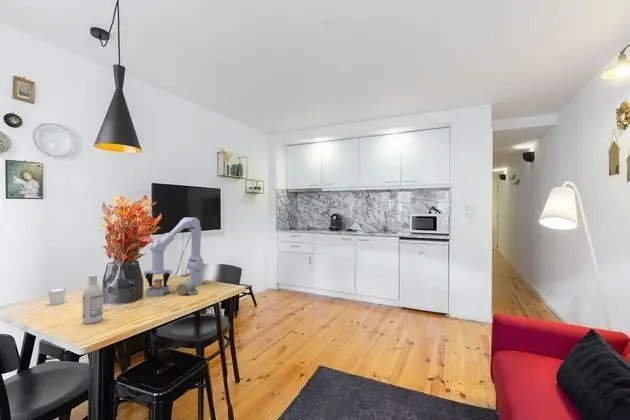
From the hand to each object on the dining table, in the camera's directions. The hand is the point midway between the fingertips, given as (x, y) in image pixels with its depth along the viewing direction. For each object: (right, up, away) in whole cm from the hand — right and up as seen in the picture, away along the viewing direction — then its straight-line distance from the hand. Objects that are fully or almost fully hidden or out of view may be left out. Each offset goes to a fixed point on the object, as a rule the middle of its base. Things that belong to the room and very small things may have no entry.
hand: (157, 286), depth 168 cm
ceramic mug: (+17, -5, +1) cm, 18 cm away
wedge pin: (0, -4, 0) cm, 4 cm away
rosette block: (0, -4, 0) cm, 4 cm away
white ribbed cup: (-43, -4, -18) cm, 46 cm away
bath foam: (-6, -4, -41) cm, 42 cm away
